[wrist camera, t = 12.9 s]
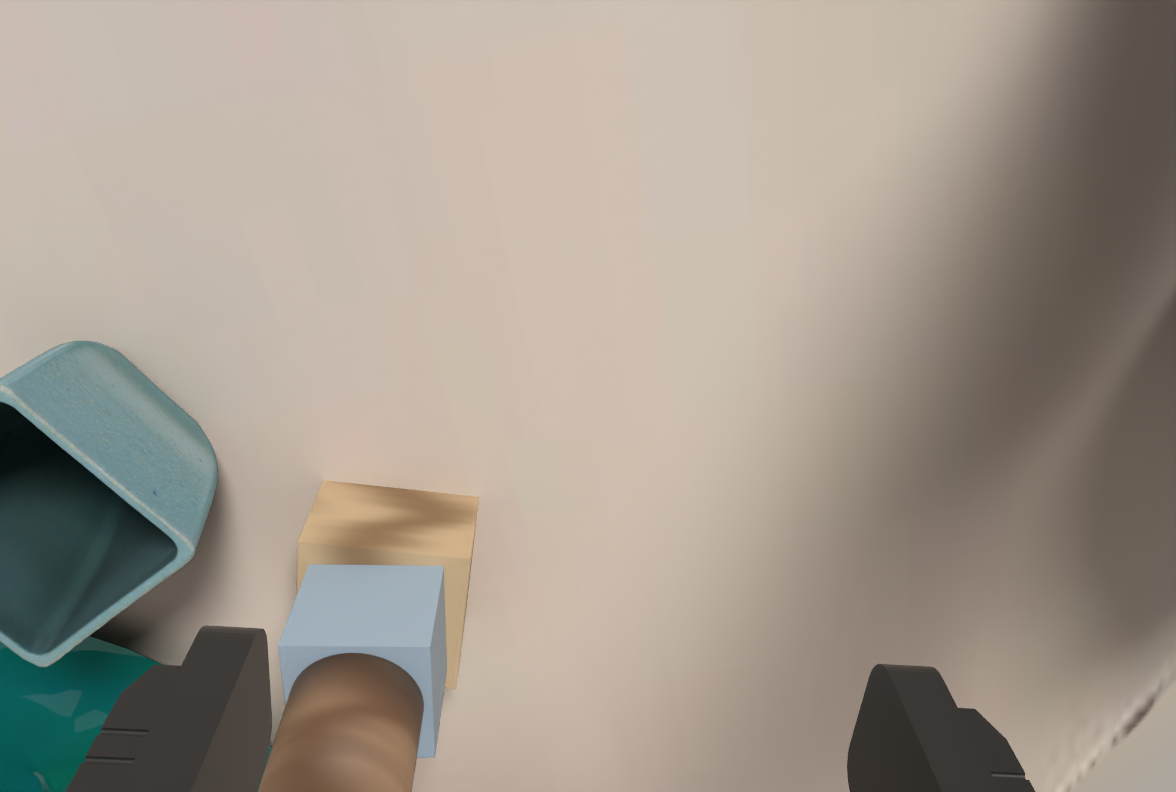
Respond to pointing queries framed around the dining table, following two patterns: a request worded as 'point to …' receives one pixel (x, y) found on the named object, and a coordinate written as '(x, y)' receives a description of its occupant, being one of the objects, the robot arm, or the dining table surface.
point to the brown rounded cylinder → (347, 729)
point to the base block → (396, 540)
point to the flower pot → (91, 495)
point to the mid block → (373, 627)
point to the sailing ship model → (59, 711)
